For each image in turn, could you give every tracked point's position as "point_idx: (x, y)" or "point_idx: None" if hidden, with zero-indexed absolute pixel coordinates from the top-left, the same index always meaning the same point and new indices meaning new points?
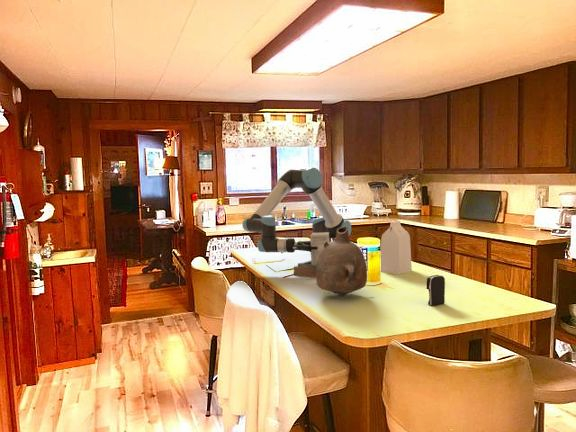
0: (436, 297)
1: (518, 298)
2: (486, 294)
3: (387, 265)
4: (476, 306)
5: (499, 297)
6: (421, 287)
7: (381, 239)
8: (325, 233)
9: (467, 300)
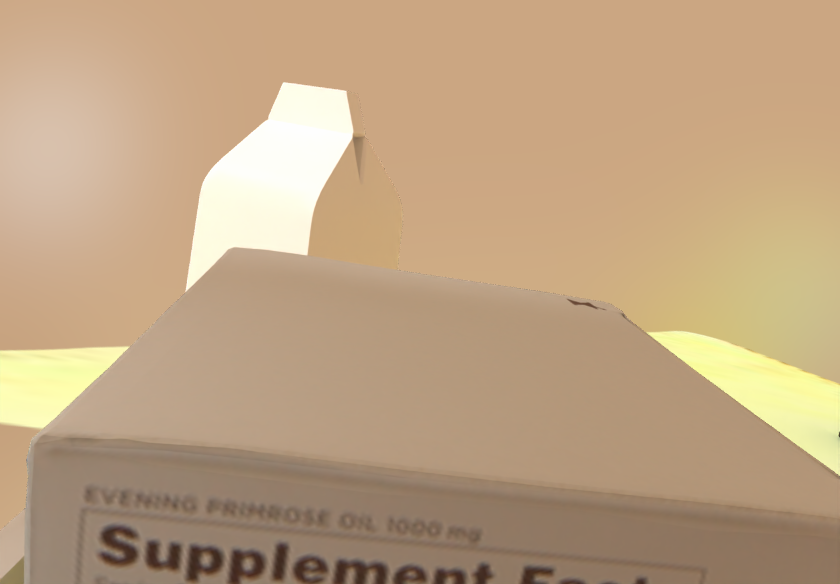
0: None
1: (656, 340)
2: None
3: None
4: (804, 398)
5: None
6: None
7: (310, 235)
8: (444, 287)
9: (751, 394)
